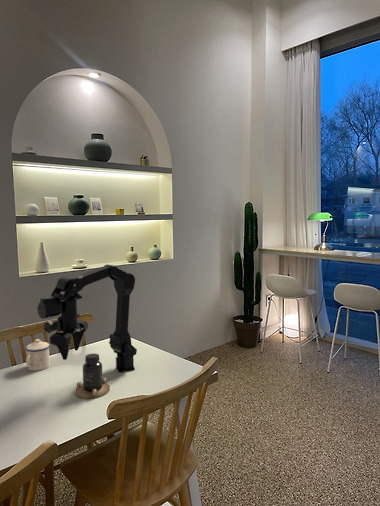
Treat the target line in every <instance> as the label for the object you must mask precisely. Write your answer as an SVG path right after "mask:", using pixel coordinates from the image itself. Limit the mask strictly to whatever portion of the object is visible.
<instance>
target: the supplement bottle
mask: <svg viewBox="0 0 380 506" xmlns="http://www.w3.org/2000/svg"><path fill="white" fill-rule="evenodd" d="M84 357H85V358H84V361H85V362H84V363H83V364H82V383H83V389H84V390H85V391H89V392H92V390H93V389H96V391H97V390H100V389H101V388H102V378H103V363H102V362H101V361H100V354H98V353H89V354H86V355H85V356H84Z"/></svg>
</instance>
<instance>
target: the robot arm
mask: <svg viewBox="0 0 380 506" xmlns="http://www.w3.org/2000/svg"><path fill="white" fill-rule="evenodd" d="M106 278H109V279H110V280H112V281H113V286H114V290H115V291H116V295H117V297H116V311H115V312H116V315H115V329H114V332H113V333H110V334H109V341H108V344H109V346H110V348H111V349H112V351H113V353H114V354H116V356H115V368H116V369H117V370H118V373H123V372H127V371H128V372H129V371H136V368H135V366H134V361H135V360H134V356H136V355H137V352H138V351H137V350H138V349H137V348H136V347H135V346H133V345H132V337H131V335H130V333H129V314H130V300H131V299H130V296H131V294H132V292H133V291H134V290H135V289H134V288H135V285H136V284H135V283H136V277H135V276H134V274H133V273H130V272H129V273H128V272H126V271H124V270H122V269H120V268H118V267H117V266H115V265H113V264H104V266H100V267H98V268H96V269H95V268H94V269H92V270H90V271H87V272H84V273H81V274H77V275H68V276H62V277H59V279H58V280H57V283H56V285H55V287H54V289H53V291H52V293H51V294H50V296H49V297H42V298H40V299H39V300H40V301H39V302H38V305H37V308H36V309H37V314H38V316H39V318H40V319H41V320H43V319H48V318H53V317H57V316H58V317H57V319H55V320H49V321H46V322H44V323H43V324H44V325H43V330H44V331H45V332H47V334H50V333H52V332H55V331H57V332H55V333H53V334H52V335H51V336H49V339H48V340H49V345H50V344H51V345H53V346H56V347H57V349H58V351H59V353H60V355H61V358H62V360H64V361H67V359H68V356H69V353H70V349H71V344H72V342H73V349H74V351H78V350H79V348H80V346H81V343H82V342H83V338H84V337H85V335H86V332H87V329H89V323H88V322H87V320H78V318H80V317H81V316H80V313H78V300H81V299H83V296H82V295H81V294H79V292H80V291H83V290H84V288H85V287H86V286H88V285H91V284H94V283H96V282H99V281H101V280H103V279H106Z"/></svg>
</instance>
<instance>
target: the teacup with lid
mask: <svg viewBox="0 0 380 506" xmlns="http://www.w3.org/2000/svg"><path fill="white" fill-rule="evenodd" d="M25 350H26V357H25V364H26V366H27V369H28V370H29V371H35V372H37V371H38V372H39V371H43V370H46V369H48V368H49V367H50V365H51V361H50V360H51V359H50V357H51V356H50V343H48V342H46V341H42V340H41V339H40V338H37V339H35V340H34V341H33V342H32V343H29V344H28V345H27V346H26V348H25Z"/></svg>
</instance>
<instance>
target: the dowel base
mask: <svg viewBox="0 0 380 506" xmlns="http://www.w3.org/2000/svg"><path fill="white" fill-rule="evenodd" d="M74 390H75V391H74V392H75V395H76V397H78V398H80V399H84V400H90V399H91V400H92V399H98V398H100V397H101V398H102V397H103V396H106V395H107V394H108V393H109V392H110V390H111V388H110V384H109V383H108V382H107V379H106V377H102V388H101V389H100V390H97V391H96V389H93V390H92V392H89V391H85V390H84V389H83V382H82V383H81V381H78V382H76V387H75V389H74Z"/></svg>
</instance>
